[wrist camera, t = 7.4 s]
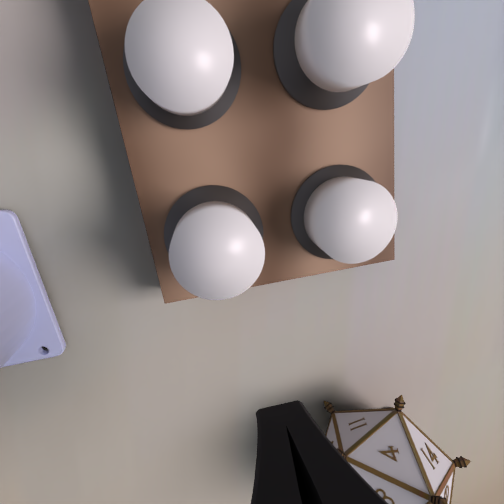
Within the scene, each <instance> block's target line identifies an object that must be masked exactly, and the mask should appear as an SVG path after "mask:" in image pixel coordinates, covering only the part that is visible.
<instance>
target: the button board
mask: <svg viewBox="0 0 504 504" xmlns="http://www.w3.org/2000/svg"><path fill="white" fill-rule="evenodd" d="M88 1H89V5H90V9H91V13H92V17H93V21H94V25H95V29H96V33H97V37H98V41H99V45H100V49H101V53H102V57H103V61H104V65H105V69H106V73H107V77H108V81H109V85H110V89H111V92H112V96H113V100H114V104H115V108H116V112H117V116H118V120H119V124H120V128H121V132H122V136H123V140H124V144H125V148H126V152H127V156H128V160H129V164H130V168H131V172H132V176H133V180H134V184H135V187H136V191H137V195H138V199H139V203H140V207H141V211H142V215H143V219H144V223H145V227H146V231H147V235H148V239H149V243H150V247H151V251H152V255H153V259H154V263H155V267H156V271H157V275H158V279H159V282H160V286H161V290H162V294H163V298H164V302H165V303H170V302H176V301H181V300H186V299H191V298H196V297H198V296H195V295H193V294H191V293H190V292H188V291H187V290H185V289H184V288H183V287H182V286H181V285H180V284H179V283H178V281H177V280H176V278H175V277H174V275H173V273H172V270H171V267H170V263H169V247H170V243H171V240H172V237H173V234H174V231H175V228H176V226H177V224H178V222H179V220H180V219H181V218H182V216H183V215H184V214H185V213H186V212H187V211H189V210H190V209H191V208H193V207H195V206H197V205H199V204H202V203H205V202H212V201H220V202H226V203H229V204H232V205H234V206H236V207H238V208H239V209H241V210H242V211H243V212H245V213H246V214H247V216H248V217H249V218H250V219H251V221H252V222H253V224H254V225H255V227H256V228H257V230H258V231H259V233H260V235H261V237H262V240H263V243H264V247H265V260H264V265H263V268H262V271H261V273H260V275H259V277H258V278H257V280H256V281H255V282H254V283H253V285H252V286H251V287H254V286H259V285H264V284H269V283H274V282H280V281H285V280H290V279H295V278H300V277H306V276H311V275H316V274H321V273H326V272H332V271H337V270H342V269H347V268H353V267H358V266H363V265H368V264H373V263H379V262H384V261H389V260H394V235H393V237H392V239H391V241H390V242H389V244H388V245H387V246H386V247H385V249H384V250H383V251H382V252H380V253H379V254H378V255H377V256H375V257H374V258H372V259H370V260H367V261H365V262H361V263H356V264H347V263H342V262H339V261H336V260H334V259H333V258H331V257H330V256H329V255H327V254H326V253H325V252H324V251H323V250H322V249H320V248H319V247H318V246H317V245H316V244H315V243H313V242H312V240H311V239H310V238H309V236H308V234H307V232H306V230H305V226H304V210H305V206H306V204H307V201H308V199H309V197H310V196H311V194H312V193H313V192H314V190H315V189H316V188H317V187H318V186H320V185H321V184H322V183H324V182H326V181H327V180H330V179H332V178H336V177H342V176H345V177H353V178H358V179H363V180H368V181H373V182H375V183H378V184H380V185H382V186H383V187H384V188H386V190H387V191H388V192H389V193H390V194H391V196H392V197H393V199H394V69H392V70H391V71H390V72H389V73H388V74H386V75H385V76H384V77H382V78H380V79H378V80H376V81H373V82H370V83H368V84H365V85H363V86H360V87H358V88H355V89H352V90H350V91H345V92H331V91H327V90H324V89H322V88H320V87H318V86H317V85H315V84H314V83H313V82H311V81H310V79H309V78H308V77H307V76H306V75H305V73H304V72H303V70H302V68H301V67H300V64H299V62H298V59H297V55H296V51H295V29H296V24H297V20H298V17H299V15H300V13H301V10H302V8H303V7H304V5H305V3H306V2H307V1H308V0H206V1H207V2H208V3H209V4H211V5H212V6H213V7H214V8H215V9H216V10H217V12H218V13H219V14H220V16H221V17H222V18H223V20H224V22H225V24H226V26H227V28H228V30H229V33H230V36H231V39H232V44H233V51H234V63H233V69H232V73H231V77H230V79H229V82H228V84H227V87H226V89H225V91H224V93H223V95H222V97H221V98H220V99H219V101H218V102H217V103H216V104H215V105H214V106H213V107H211V108H210V109H209V110H207V111H205V112H203V113H200V114H197V115H192V116H182V115H176V114H173V113H170V112H168V111H166V110H164V109H162V108H161V107H159V106H158V105H157V104H155V103H154V102H153V101H152V100H151V99H150V98H149V97H148V96H147V95H146V94H145V93H144V92H143V91H142V90H141V89H140V87H139V86H138V85H137V83H136V82H135V80H134V78H133V77H132V75H131V72H130V70H129V67H128V64H127V61H126V55H125V33H126V28H127V25H128V22H129V20H130V18H131V16H132V14H133V12H134V11H135V9H136V8H137V7H138V6H139V5H140V3H141V2H142V1H144V0H88Z"/></svg>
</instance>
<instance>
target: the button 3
mask: <svg viewBox="0 0 504 504" xmlns="http://www.w3.org/2000/svg"><path fill="white" fill-rule="evenodd" d="M414 19H415V13H414V3H413V0H308V1H307V2H306V3H305V5H304V7H303V8H302V10H301V13H300V15H299V17H298V20H297V24H296V29H295V51H296V55H297V59H298V62H299V64H300V67H301V68H302V70H303V72H304V73H305V75H306V76H307V77H308V78H309V79H310V81H311V82H313V83H314V84H315V85H317V86H318V87H320V88H322V89H324V90H327V91H331V92H345V91H350V90H352V89H355V88H358V87H360V86H363V85H365V84H368V83H370V82H373V81H376V80H378V79H380V78H382V77H384V76H385V75H386V74H388V73H389V72H390V71H391V70H392V69H394V68H395V66H396V65H397V64H398V63H399V62H400V60H401V59H402V57H403V56H404V54H405V52H406V50H407V48H408V46H409V43H410V41H411V37H412V34H413V28H414Z"/></svg>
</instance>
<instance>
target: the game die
mask: <svg viewBox="0 0 504 504" xmlns="http://www.w3.org/2000/svg"><path fill="white" fill-rule="evenodd" d="M404 404H405V402H404V400H403V397H402V395H401V396H399V397H398V398H396V399H395V403H394V405H395V408H386V409H367V410H348V411H335V410H334V408H333V407H334V406H332V405H331V403H329V402H326V401H324V405H325V409H327V411H328V412H330V413H331V418H330V421H329V425H328V428H327V432H326V435H325V436H326V437H327V438H328V439H329V440H330V442H331V443H332V444H333V445H334V446H335V448H336V449H337V450H338V451H339V452H340V453H341V455H342V456H343V457H344V458H345V459H346V460H347V461H348V463H349V464H350V465H351V466H352V467H353V468H354V469H355V470H356V471H357V472H358V473H359V475H360V476H361V477H362V478H363V479H364V480H365V481H366V482H367V483H368V484H369V485H370V486H371V487H372V488H373V489H374V490H375V491H376V492H377V493H378V494H379V495H380V496H381V497H382V498H383V499H384V500H385V501H386V502H387V503H388V504H451V498H452V490H453V482H454V474H455V467H460V468H462V467H467V465H468V464H469V463H470V460H467V459H465V458H463V457H462V456H460V458H457V457H456V459H454V460H452V459H451V458H450V457H449V456H447V455H446V454H445V453H444V452H443V451H442V450H441V449H440V448H439V447H438V446H437V445H436V444H435V443H434V442H433V441H432V440H431V439H430V438H429V437H428V436H427V435H426V434H425V433H424V432H423V431H421V430H420V429H419V428H418V427H417V426H416V425H415V424H414V423H413V422H412V421H411V420H410V419H409V418H408V417H407V416H406V415H405V414H404V413H403V412H402V411H401V410H402V408H404Z"/></svg>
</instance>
